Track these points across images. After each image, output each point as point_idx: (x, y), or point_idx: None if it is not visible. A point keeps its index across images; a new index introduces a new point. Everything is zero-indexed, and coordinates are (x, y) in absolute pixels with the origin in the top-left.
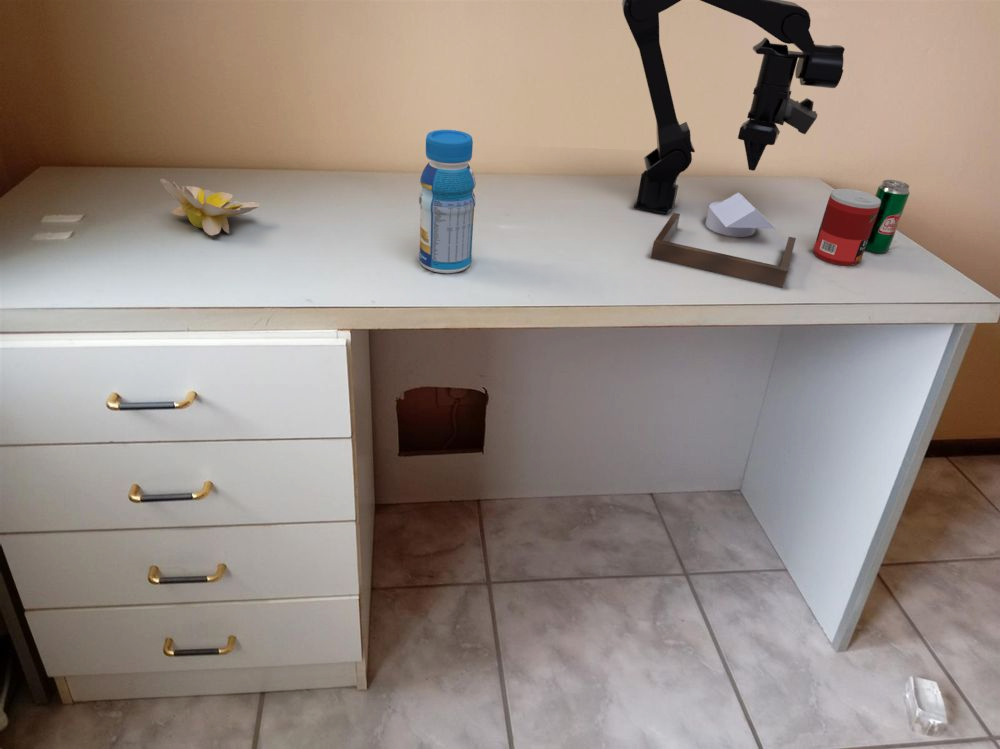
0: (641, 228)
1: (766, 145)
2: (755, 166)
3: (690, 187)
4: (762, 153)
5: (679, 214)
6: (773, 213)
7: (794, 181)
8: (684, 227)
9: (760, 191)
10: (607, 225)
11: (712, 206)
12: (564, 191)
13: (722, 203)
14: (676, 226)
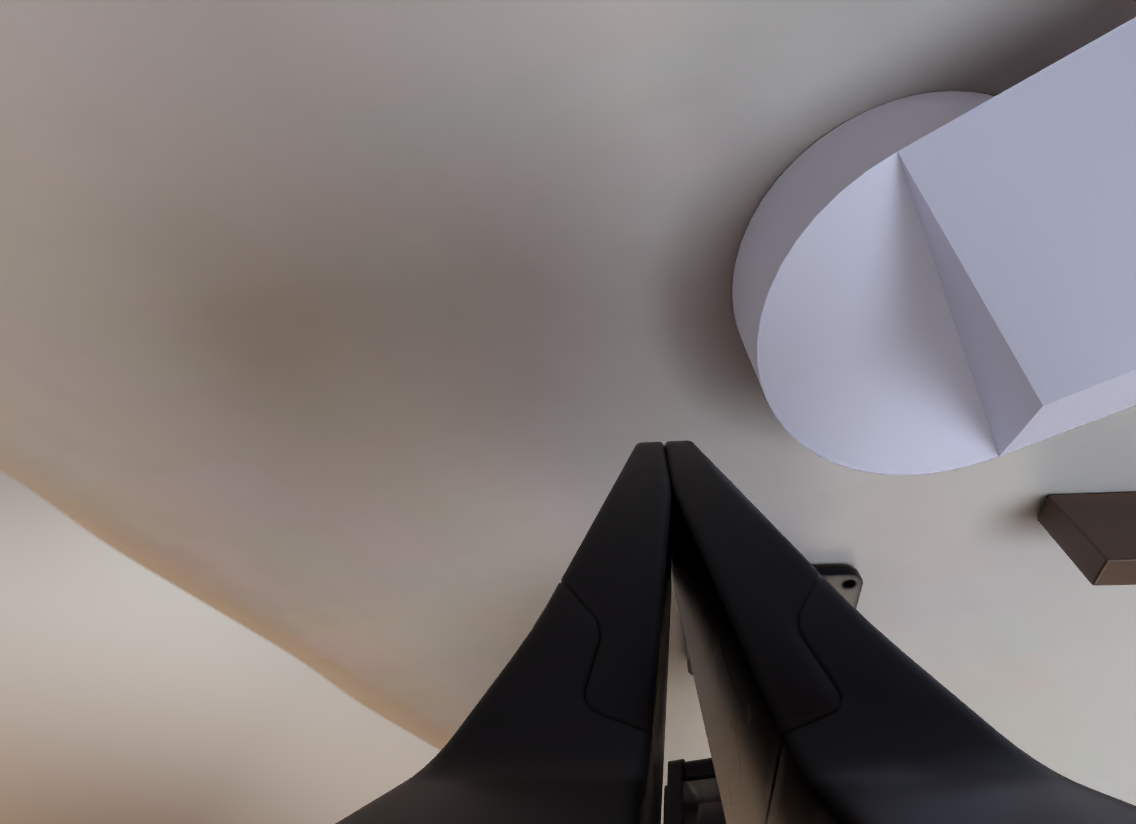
0: (1076, 601)
1: (1054, 773)
2: (715, 473)
3: (371, 560)
4: (847, 602)
5: (1119, 560)
6: (407, 48)
7: None
8: (997, 473)
9: (40, 248)
10: (1076, 684)
11: (938, 457)
12: None
13: (1039, 431)
14: (1109, 514)
